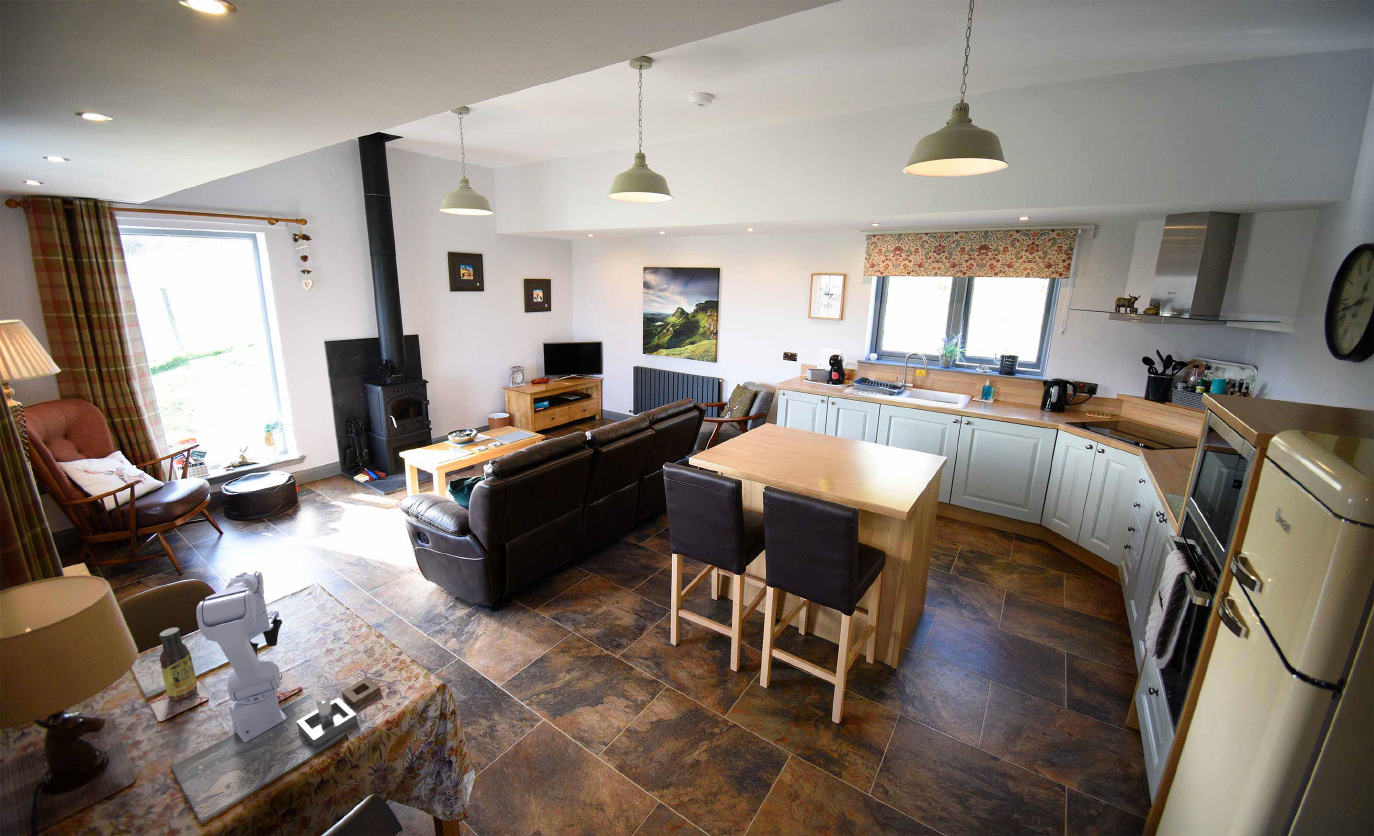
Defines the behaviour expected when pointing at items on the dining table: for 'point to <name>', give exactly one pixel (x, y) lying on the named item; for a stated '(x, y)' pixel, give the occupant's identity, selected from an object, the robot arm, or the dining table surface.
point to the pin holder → (352, 691)
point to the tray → (320, 736)
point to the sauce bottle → (176, 666)
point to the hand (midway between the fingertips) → (263, 654)
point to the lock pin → (325, 713)
